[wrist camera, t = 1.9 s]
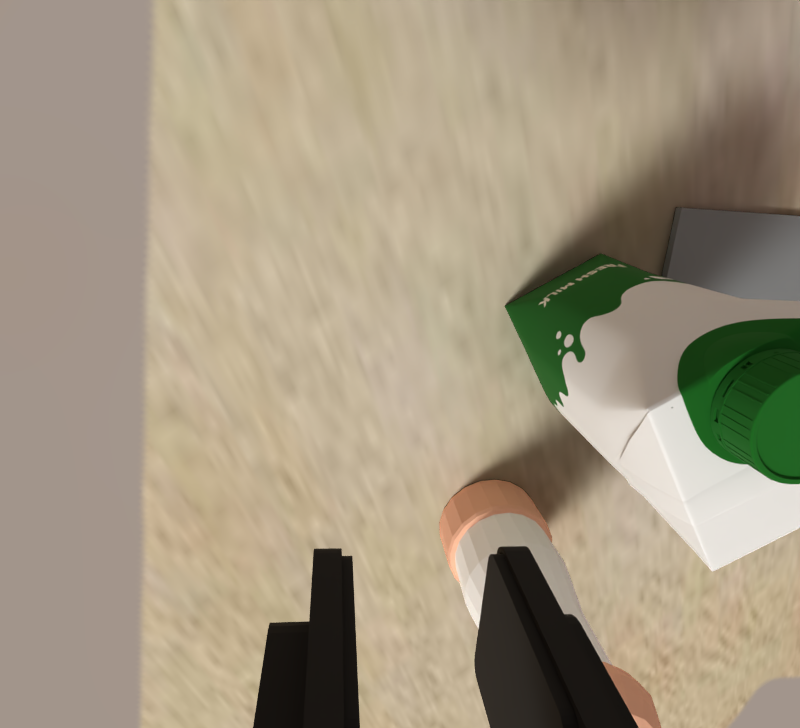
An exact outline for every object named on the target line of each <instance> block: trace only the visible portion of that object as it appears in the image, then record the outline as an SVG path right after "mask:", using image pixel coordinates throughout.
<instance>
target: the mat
mask: <svg viewBox="0 0 800 728" xmlns="http://www.w3.org/2000/svg"><path fill="white" fill-rule="evenodd" d="M662 277H666V278H669V279H673V280H676V281H680V282H683V283H687V284H690V285H694V286H698V287H701V288H705V289H708V290H712V291H716V292H719V293H723V294H726V295H730V296H734V297H737V298H741V299H760V300H784V301H800V216H792V215H778V214H764V213H750V212H735V211H721V210H707V209H693V208H678V207H676V211H675V215H674V220H673V225H672V230H671V234H670V239H669V244H668V249H667V253H666V258H665V263H664V268H663V272H662Z"/></svg>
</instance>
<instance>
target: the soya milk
mask: <svg viewBox="0 0 800 728" xmlns="http://www.w3.org/2000/svg"><path fill="white" fill-rule="evenodd" d="M505 308H506V310H507V312H508V314H509V316H510V318H511V320H512V322H513V324H514V327H515V329H516V331H517V333H518V335H519V337H520V339H521V342H522V344H523V346H524V348H525V350H526V352H527V354H528V357H529V359H530V361H531V363H532V365H533V367H534V370H535V372H536V374H537V376H538V378H539V381H540V383H541V385H542V387H543V389H544V391H545V393H546V395H547V397H548V399H549V400H550V402H551V403H552V404H553V405H554V406H555V408H556V409H557V410H558V411H559V412H560V413H561V414H562V415H563V416H564V417H565V418H566V419H567V420H568V421H569V422H570V423H571V424H572V425H573V426H574V427H575V428H576V429H577V430H578V431H579V432H580V433H581V434H582V435H583V436H584V437H585V438H586V439H587V441H588V442H589V443H590V444H591V445H592V446H593V447H594V448H595V449H596V450H597V451H598V452H599V453H600V454H601V455H602V456H603V457H604V458H605V459H606V460H607V461H608V462H609V463H610V464H611V465H612V466H613V467H614V468H615V469H616V470H618V471H619V472H620V473H621V474H622V475H623V476H624V477H625V478H626V479H627V481H628V483H629V485H630V486H632V487H633V488H634V489H635V490H636V491H638V492H639V493H640V494H642V495H643V496H644V498H645V499H646V500H647V501H648V502H649V503H650V504H651V505H652V506H653V507H654V508H655V509H656V510H657V512H658V513H659V514H660V515H661V516H662V517H663V518H664V519H665V520H666V521H667V522H668V523H669V525H670V526H671V527H672V528H673V529H674V530H675V531H676V532H677V533H678V534H679V535H680V536H681V537H682V539H683V540H684V541H685V542H686V543H687V544H688V545H689V546H690V547H691V548H692V549H693V550H694V552H695V553H696V554H697V555H698V556H699V557H700V558H701V559H702V560H703V561H704V563H705V564H706V565H707V566H708V567H709V569H710V570H711V571H715V570H717V569H719V568H721V567H723V566H725V565H727V564H729V563H731V562H733V561H735V560H737V559H739V558H741V557H743V556H745V555H747V554H749V553H751V552H753V551H755V550H757V549H759V548H761V547H763V546H765V545H767V544H769V543H771V542H773V541H775V540H777V539H779V538H781V537H783V536H785V535H787V534H789V533H791V532H792V531H794V530H796V529H798V528H800V301H784V300H760V299H741V298H737V297H734V296H730V295H726V294H723V293H719V292H716V291H712V290H708V289H705V288H701V287H698V286H694V285H690V284H687V283H683V282H680V281H676V280H673V279H669V278H666V277H662V276H658V275H655V274H651V273H648V272H646V271H643V270H641V269H638V268H636V267H633V266H631V265H628V264H626V263H623V262H621V261H618V260H616V259H613V258H611V257H608V256H606V255H603V254H599V255H597V256H595V257H594V258H592V259H590V260H588V261H586V262H584V263H583V264H581V265H579V266H577V267H575V268H573V269H572V270H570V271H568V272H566V273H564V274H562V275H561V276H559V277H557V278H555V279H553V280H551V281H550V282H548V283H546V284H544V285H542V286H540V287H539V288H537V289H535V290H533V291H531V292H529V293H528V294H526V295H524V296H522V297H520V298H518V299H517V300H515V301H513V302H511V303H509V304H507V305H506V306H505Z"/></svg>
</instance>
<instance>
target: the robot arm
mask: <svg viewBox="0 0 800 728" xmlns="http://www.w3.org/2000/svg"><path fill="white" fill-rule="evenodd" d="M475 673H476V678H477V682H478V685H479V689H480V692H481V696H482V699H483V703H484V707H485V710H486V714H487V717H488V721H489V724H490V728H639V727H638V725H637V724H636V722H635V720H634V718H633V716H632V715H631V713H630V711H629V709H628V707H627V706H626V704H625V702H624V700H623V698H622V697H621V695H620V693H619V691H618V689H617V688H616V686H615V684H614V682H613V681H612V679H611V677H610V675H609V673H608V672H607V670H606V668H605V666H604V664H603V663H602V661H601V659H600V657H599V655H598V654H597V652H596V650H595V648H594V646H593V645H592V643H591V641H590V639H589V637H588V636H587V634H586V632H585V630H584V629H583V627H582V625H581V623H580V622H579V620H578V619H577V618H576V617H575V616H574V615H572V614H564V613H563V611H562V609H561V607H560V606H559V604H558V602H557V600H556V598H555V596H554V594H553V592H552V590H551V589H550V587H549V585H548V583H547V581H546V579H545V577H544V575H543V574H542V572H541V570H540V568H539V566H538V564H537V562H536V560H535V558H534V557H533V555H532V553H531V551H530V549H529V548H528V547H526V546H501V547H499V548H498V550H497V554H490V555H489V558H488V563H487V571H486V578H485V585H484V593H483V600H482V607H481V615H480V622H479V630H478V637H477V644H476V652H475ZM253 728H360V723H359V699H358V676H357V653H356V630H355V607H354V585H353V562H352V556H342V551H341V549H314V555H313V572H312V588H311V605H310V621H309V622H281V623H270V624H269V628H268V634H267V640H266V647H265V654H264V660H263V667H262V673H261V680H260V686H259V693H258V699H257V706H256V713H255V719H254V726H253Z"/></svg>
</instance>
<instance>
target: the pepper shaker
mask: <svg viewBox="0 0 800 728" xmlns="http://www.w3.org/2000/svg"><path fill="white" fill-rule="evenodd" d="M440 537H441V540H442V544H443V547H444V551H445V554H446V557H447V561H448V564H449V567H450V569H451V571H452V573H453V575H454V577H455V579H456V580H457V581H459V582H460V585H461V589H462V592H463V596H464V600H465V603H466V606H467V608H468V610H469V612H470V614H471V616H472V618H473V620H474V622H475V624H476V625H477V627H478V629H479V622H480V615H481V607H482V600H483V593H484V585H485V578H486V571H487V563H488V558H489V555H490V554H497V550H498V548H499V547H501V546H526V547H528V548H529V549H530V551H531V553H532V555H533V557H534V558H535V560H536V562H537V564H538V566H539V568H540V570H541V572H542V574H543V575H544V577H545V579H546V581H547V583H548V585H549V587H550V589H551V590H552V592H553V594H554V596H555V598H556V600H557V602H558V604H559V606H560V607H561V609H562V611H563V613H564V614H572V615H574V616H575V617H576V618H577V619H578V620H579V622H580V623H581V625H582V627H583V629H584V630H585V632H586V634H587V636H588V637H589V639H590V641H591V643H592V645H593V646H594V648H595V650H596V652H597V654H598V655H599V657H600V659H601V661H602V663H603V664H604V666H605V668H606V670H607V672H608V673H609V675H610V677H611V679H612V681H613V682H614V684H615V686H616V688H617V689H618V691H619V693H620V695H621V697H622V698H623V700H624V702H625V704H626V706H627V707H628V709H629V711H630V713H631V715H632V716H633V718H634V720H635V722H636V724H637V725H638V727H639V728H661V725H660V722H659V718H658V715H657V712H656V709H655V706H654V703H653V700H652V697H651V695H650V694H649V693H648V692H647V691H646V690H645V689H644V688H643V687H642V686H641V684H640V683H639V682H638V681H636V680H635V679H634V678H633V677H632V676H631V675H630V674H628V673H627V672H625V671H623V670H622V669H620V668H617V667H615V666H613V665H612V664H611V662H610V660H609V658H608V656H607V655H606V653H605V651H604V649H603V648H602V646H601V644H600V642H599V641H598V639H597V637H596V635H595V633H594V632H593V630H592V628H591V626H590V625H589V623H588V621H587V619H586V617H585V616H584V614H583V612H582V609H581V606H580V603H579V601H578V598H577V595H576V592H575V589H574V587H573V584H572V581H571V578H570V575H569V573H568V570H567V567H566V565H565V562H564V560H563V559H562V557H561V556H560V554H559V553H558V551H557V550H556V548H555V547H554V545H553V544H552V536H551V533H550V531H549V528H548V525H547V523H546V522H545V520H544V519H543V517H542V515H541V514H540V512H539V510H538V509H537V507H536V506H535V504H534V502H533V501H532V499H531V498H530V497H529V496H528V495H527V493H526V492H525V491H524V490H523V489H522V488H520V487H518V486H516V485H514V484H512V483H511V482H507V481H501V480H487V481H479V482H477V483H474V484H472V485H469V486H467V487H465V488H463V489H462V490H461V491H460V492H458V493H457V494H456V495H454V496H453V497H452V498H451V500H450V501H449V503H448V504H447V505H446V507H445V508H444V510H443V513H442V516H441V520H440Z"/></svg>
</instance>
